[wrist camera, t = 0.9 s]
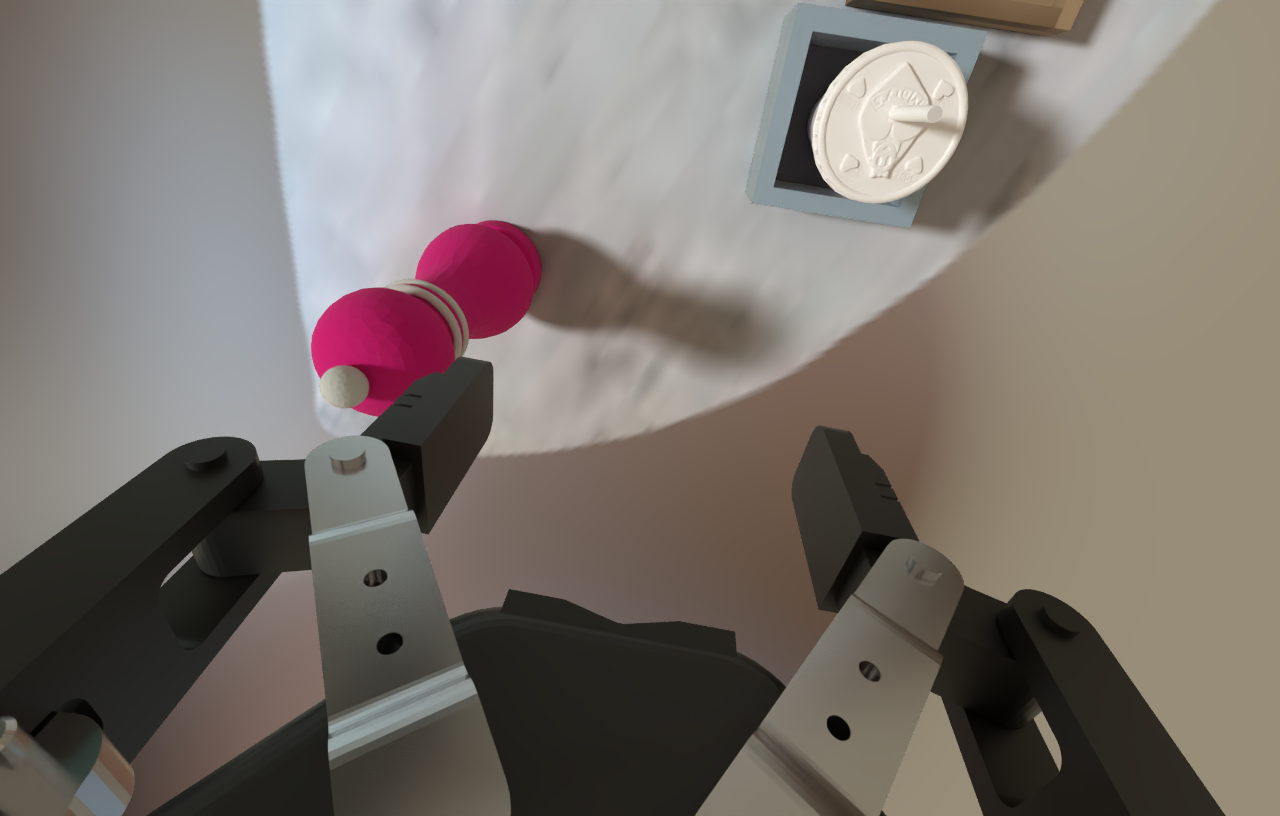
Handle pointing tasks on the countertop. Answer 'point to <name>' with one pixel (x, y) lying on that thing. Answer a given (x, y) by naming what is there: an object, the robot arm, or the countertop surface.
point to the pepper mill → (424, 315)
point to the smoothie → (889, 121)
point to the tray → (988, 12)
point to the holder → (796, 35)
